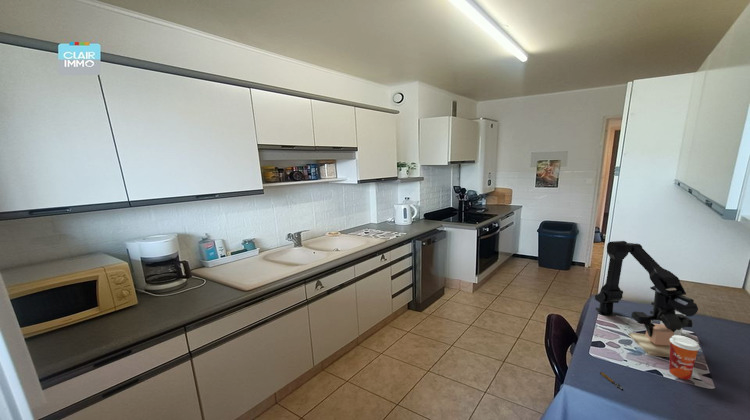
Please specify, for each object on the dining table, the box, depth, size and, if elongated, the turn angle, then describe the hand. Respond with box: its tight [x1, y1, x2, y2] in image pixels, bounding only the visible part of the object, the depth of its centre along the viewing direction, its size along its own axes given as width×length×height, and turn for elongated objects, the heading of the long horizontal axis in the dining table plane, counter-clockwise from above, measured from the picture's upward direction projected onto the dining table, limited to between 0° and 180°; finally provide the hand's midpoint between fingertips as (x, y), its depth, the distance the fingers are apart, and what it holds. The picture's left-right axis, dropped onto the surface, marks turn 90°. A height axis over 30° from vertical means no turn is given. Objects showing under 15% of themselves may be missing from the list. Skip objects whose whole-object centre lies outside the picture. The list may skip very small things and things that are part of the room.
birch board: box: [628, 332, 670, 358], centre depth 126 cm, size 14×14×1 cm
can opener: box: [599, 371, 624, 390], centre depth 108 cm, size 9×2×1 cm, turn 3°
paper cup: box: [668, 335, 701, 380], centre depth 109 cm, size 8×8×14 cm
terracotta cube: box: [645, 323, 674, 345], centre depth 125 cm, size 6×6×6 cm
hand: (658, 337), depth 125 cm, fingers closed on terracotta cube, 6 cm apart
